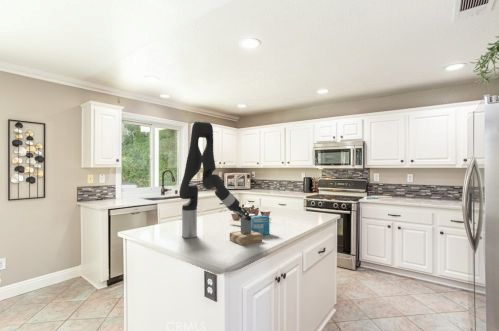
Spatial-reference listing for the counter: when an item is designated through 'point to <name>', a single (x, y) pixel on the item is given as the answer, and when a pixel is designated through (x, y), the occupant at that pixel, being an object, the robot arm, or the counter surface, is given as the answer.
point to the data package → (260, 224)
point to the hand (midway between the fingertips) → (246, 218)
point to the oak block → (245, 238)
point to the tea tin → (245, 226)
